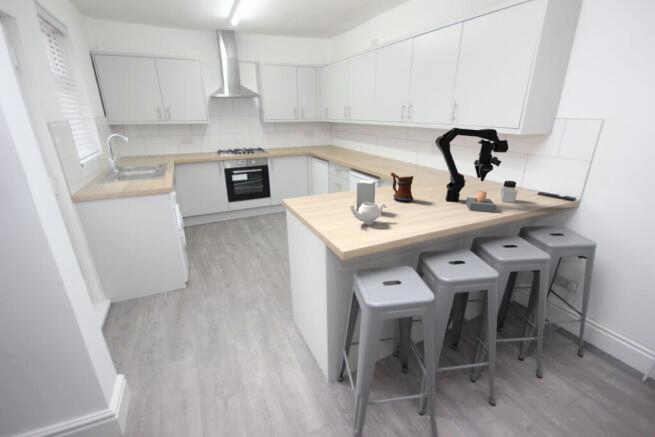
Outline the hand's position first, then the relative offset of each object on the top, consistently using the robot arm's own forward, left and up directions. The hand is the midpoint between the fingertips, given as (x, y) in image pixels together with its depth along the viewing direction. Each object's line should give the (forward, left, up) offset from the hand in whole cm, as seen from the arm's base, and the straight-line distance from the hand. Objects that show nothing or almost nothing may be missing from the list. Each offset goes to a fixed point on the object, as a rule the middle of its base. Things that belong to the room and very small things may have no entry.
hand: (480, 179), depth 168 cm
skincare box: (-61, -37, -13) cm, 73 cm away
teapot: (-57, -55, -13) cm, 80 cm away
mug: (-44, -9, -13) cm, 47 cm away
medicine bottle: (+18, +7, -13) cm, 23 cm away
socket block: (-1, -14, -13) cm, 19 cm away
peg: (-1, -14, -13) cm, 19 cm away
